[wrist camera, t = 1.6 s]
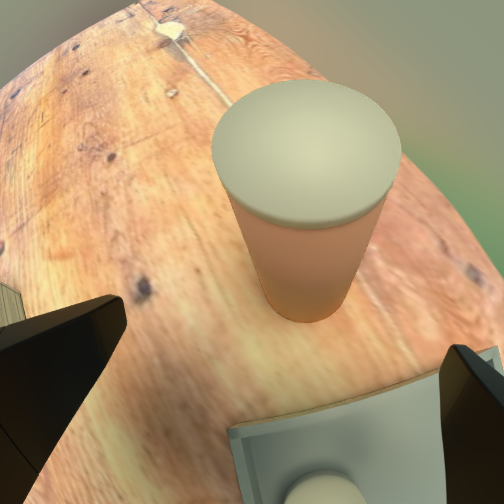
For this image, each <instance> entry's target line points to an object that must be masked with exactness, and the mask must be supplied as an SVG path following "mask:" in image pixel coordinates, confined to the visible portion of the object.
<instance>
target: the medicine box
mask: <svg viewBox="0 0 504 504" xmlns="http://www.w3.org/2000/svg"><path fill="white" fill-rule="evenodd" d="M22 320H25V315H24V311H23V307H22V302H21V298H20V292H19V291H17V290H15V289H13V288H11V287H10V286H8V285H6V284H4V283H2V282H0V327H2V326H7V325H9V324H12V323H16V322H19V321H22Z"/></svg>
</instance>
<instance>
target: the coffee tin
mask: <svg viewBox="0 0 504 504" xmlns="http://www.w3.org/2000/svg"><path fill="white" fill-rule="evenodd" d="M211 148H212V158H213V162H214V166H215V168H216V171H217V173H218V176H219V178H220V181H221V183H222V185H223V187H224V189H225V190H226V192H227V195H228V198H229V200H230V203H231V206H232V208H233V211H234V213H235V216H236V219H237V221H238V224H239V227H240V229H241V232H242V234H243V237H244V240H245V242H246V245H247V248H248V250H249V253H250V256H251V258H252V261H253V263H254V266H255V269H256V271H257V274H258V277H259V279H260V282H261V284H262V287H263V290H264V292H265V295H266V297H267V300H268V302H269V303H270V305H271V306H272V307H273V309H274V310H275V311H276V312H277V313H279V314H280V315H281V316H283V317H285V318H287V319H289V320H292V321H295V322H300V323H311V322H317V321H320V320H323V319H325V318H327V317H328V316H330V315H332V314H333V313H334V312H335V311H336V310H337V309H338V308H339V307H340V306H341V304H342V303H343V301H344V299H345V297H346V294H347V292H348V290H349V288H350V286H351V283H352V281H353V279H354V277H355V274H356V272H357V270H358V267H359V265H360V263H361V260H362V258H363V256H364V253H365V251H366V248H367V246H368V243H369V241H370V239H371V236H372V234H373V231H374V229H375V226H376V223H377V221H378V218H379V216H380V213H381V210H382V208H383V205H384V202H385V200H386V197H387V194H388V192H389V191H390V189H391V187H392V185H393V182H394V180H395V177H396V174H397V171H398V168H399V165H400V160H401V144H400V138H399V135H398V133H397V130H396V128H395V126H394V124H393V122H392V121H391V119H390V118H389V117H388V115H387V114H386V113H385V112H384V111H383V110H382V109H381V108H380V107H379V106H378V105H377V104H376V103H375V102H373V101H372V100H371V99H369V98H368V97H366V96H365V95H363V94H361V93H359V92H357V91H355V90H353V89H351V88H348V87H346V86H342V85H339V84H336V83H331V82H327V81H320V80H290V81H283V82H278V83H274V84H270V85H267V86H264V87H262V88H259V89H257V90H255V91H253V92H251V93H249V94H247V95H245V96H244V97H242V98H241V99H240V100H238V101H237V102H236V103H234V104H233V105H232V106H231V107H230V108H229V109H228V110H227V111H226V112H225V114H224V115H223V116H222V118H221V119H220V121H219V122H218V125H217V127H216V129H215V131H214V135H213V138H212V147H211Z"/></svg>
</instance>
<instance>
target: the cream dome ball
mask: <svg viewBox="0 0 504 504" xmlns="http://www.w3.org/2000/svg"><path fill="white" fill-rule="evenodd" d="M284 504H367V503H366V501H365V499H364V497H363V495H362V494H361V492H360V490H359V488H358V487H357V485H356V483H355V482H354V481H353V479H352V478H350V477H349V476H348V475H346V474H345V473H343V472H340V471H337V470H331V469H320V470H315V471H311V472H309V473H306V474H304V475H302V476H301V477H299V478H298V479H297V480H295V481H294V482H293V483H292V484H291V486H290V487H289V489H288V491H287V492H286V495H285V500H284Z"/></svg>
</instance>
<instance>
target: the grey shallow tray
mask: <svg viewBox="0 0 504 504" xmlns="http://www.w3.org/2000/svg"><path fill="white" fill-rule="evenodd" d="M475 353H476V354H477V355H478V356H480V357H481V358H482V359H483V360H485V361H486V362H487V363H488V364H489V365H491V366H492V367H493V368H494V369H496V370H497V371H498V372H499V373H500V374H502V375H503V376H504V371H503V367H502V362H501V358H500V354H499V350H498V346H493V347H490V348H487V349H484V350H481V351H477V352H475ZM439 370H440V368H438V369H435V370H433V371H430V372H428V373H425V374H423V375H420V376H417V377H415V378H412V379H409V380H407V381H404V382H401V383H398V384H395V385H392V386H389V387H387V388H384V389H380V390H377V391H374V392H371V393H368V394H365V395H361V396H358V397H355V398H351V399H348V400H344V401H340V402H337V403H333V404H329V405H325V406H321V407H317V408H313V409H309V410H305V411H300V412H296V413H291V414H287V415H282V416H277V417H272V418H266V419H261V420H255V421H249V422H243V423H237V424H236V425H234V426H232V427H230V428H228V429H227V431H228V436H229V441H230V446H231V450H232V455H233V460H234V464H235V469H236V473H237V478H238V482H239V486H240V490H241V495H242V499H243V503H244V504H284V500H285V495H286V492H287V491H288V489H289V487H290V486H291V484H292V483H293V482H294V481H295V480H297V479H298V478H299V477H301V476H302V475H304V474H306V473H309V472H311V471H315V470H320V469H331V470H337V471H340V472H343V473H345V474H346V475H348V476H349V477H350V478H352V479H353V481H354V482H355V483H356V485H357V487H358V488H359V490H360V492H361V494H362V495H363V497H364V499H365V501H366V503H367V504H447V503H446V478H445V463H444V452H443V442H442V433H441V420H440V392H439Z"/></svg>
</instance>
